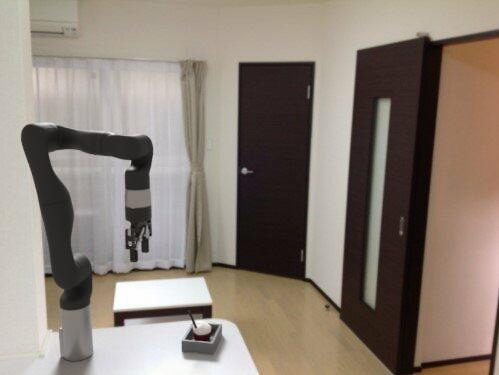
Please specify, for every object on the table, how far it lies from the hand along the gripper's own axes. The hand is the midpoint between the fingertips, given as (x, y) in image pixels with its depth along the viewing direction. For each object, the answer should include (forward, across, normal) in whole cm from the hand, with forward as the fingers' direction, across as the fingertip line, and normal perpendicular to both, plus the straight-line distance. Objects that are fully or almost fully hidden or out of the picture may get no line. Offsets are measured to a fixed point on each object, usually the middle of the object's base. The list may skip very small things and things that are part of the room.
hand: (139, 257), depth 140 cm
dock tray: (+36, -18, +14) cm, 43 cm away
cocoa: (+35, -18, +14) cm, 42 cm away
